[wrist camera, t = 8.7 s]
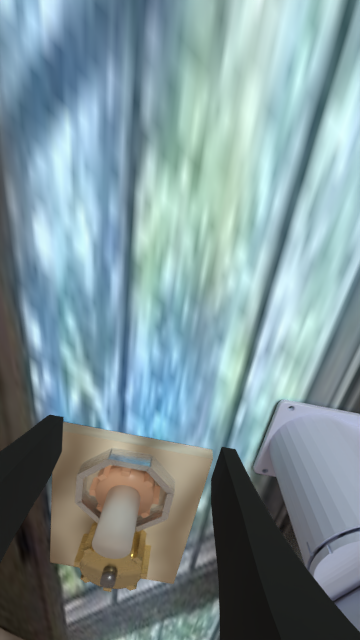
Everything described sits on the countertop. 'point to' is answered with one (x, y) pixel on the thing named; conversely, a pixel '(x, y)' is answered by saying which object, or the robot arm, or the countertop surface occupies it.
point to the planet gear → (120, 507)
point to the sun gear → (113, 563)
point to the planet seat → (134, 462)
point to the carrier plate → (163, 537)
